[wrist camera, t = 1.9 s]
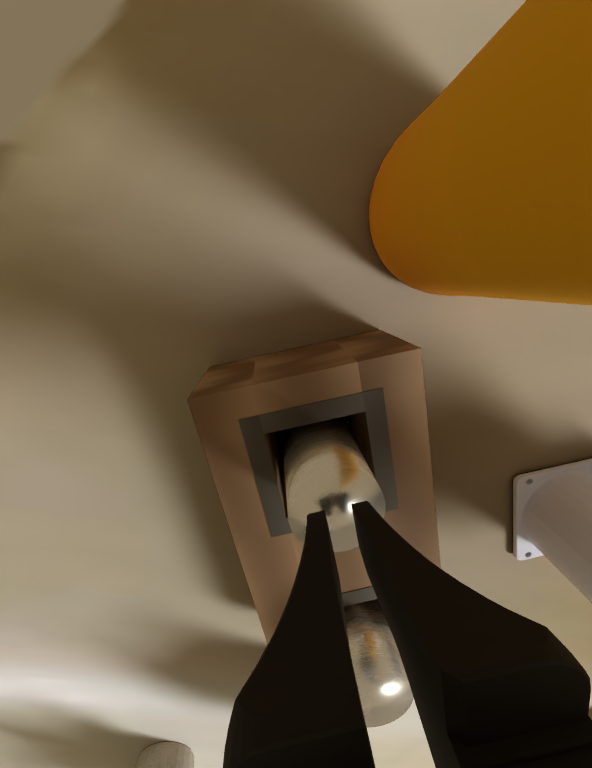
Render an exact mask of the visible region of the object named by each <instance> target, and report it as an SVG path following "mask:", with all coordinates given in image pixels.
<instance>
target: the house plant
mask: <svg viewBox="0 0 592 768" xmlns="http://www.w3.org/2000/svg"><path fill="white" fill-rule="evenodd" d="M135 768H194V756H193V753H192V751H191V749H190V748H188V747H187V746H186V745H183V744H180V743H176V742H161V743H156V744H153V745H151V746H149V747H147V748H146V749H145V750H144V751H143V752H142V753H141V755H140V757H139V759H138V762H137V764H136V767H135Z"/></svg>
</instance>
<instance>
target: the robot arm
mask: <svg viewBox="0 0 592 768" xmlns="http://www.w3.org/2000/svg"><path fill="white" fill-rule="evenodd" d="M527 480H528V481H527ZM351 507H352V512H353V517H354V523H355V528H356V534H357V539H358V545H359V549H360V552H361V555H362V559H363V562H364V565H365V568H366V572H367V574H368V577H369V579H370V582H371V584H372V587H373V589H374V591H375V594H376V596H377V599H378V601H379V603H380V606H381V608H382V611H383V613H384V615H385V618H386V620H387V623H388V625H389V627H390V630H391V632H392V635H393V637H394V640H395V643H396V645H397V648H398V651H399V654H400V657H401V660H402V663H403V666H404V669H405V672H406V675H407V678H408V681H409V684H410V688H411V691H412V694H413V697H414V700H415V703H416V706H417V709H418V713H419V716H420V719H421V722H422V725H423V728H424V731H425V735H426V738H427V741H428V744H429V747H430V751H431V754H432V757H433V760H434V763H435V767H436V768H592V720H591V719H590V717H589V716H588V711H589V702H590V693H591V686H590V678H589V676H588V674H587V673H586V671H585V669H584V668H583V667H582V666H581V664H580V663H579V662H578V661H577V660H576V658H575V657H574V656H573V655H572V653H571V652H570V651H569V650H568V649H567V648H566V647H565V646H564V645H563V644H562V643H561V642H560V641H559V640H558V639H557V638H556V637H555V636H554V635H553V633H552V632H551V631H550V630H549V629H548V628H547V627H545V626H543V625H541V624H539V623H536V622H534V621H532V620H530V619H528V618H526V617H523V616H521V615H519V614H517V613H515V612H513V611H510V610H508V609H506V608H504V607H502V606H501V605H499V604H497V603H495V602H493V601H491V600H489V599H487V598H486V597H484V596H482V595H481V594H479V593H477V592H476V591H474V590H473V589H471V588H469V587H468V586H466V585H464V584H463V583H461V582H459V581H458V580H456V579H455V578H453V577H452V576H450V575H449V574H447V573H446V572H445V571H443V570H442V569H440V568H439V567H438V566H436V565H435V564H434V563H432V562H431V561H430V560H428V559H427V558H426V557H425V556H423V555H422V554H421V553H420V552H419V551H417V550H416V549H415V548H414V547H413V546H411V545H410V544H409V543H408V542H407V541H406V540H405V539H404V538H403V537H402V536H401V535H399V534H398V533H397V532H396V531H395V530H394V529H393V528H392V527H391V526H390V525H389V524H388V523H387V522H386V521H385V520H384V519H383V517H382V516H381V515H380V514H379V513H378V512H377V511H376V510H375V508H374V507H373V506H372V505H371V503H370V502H368V501H363V502H358V503H354V504H351ZM513 554H514V556H515V558H516V559H517V560H526V559H530V558H534V557H539V556H543V555H544V556H545V557H546V558H547V559H548V560H549V561H550V562H551V563H552V564H553V565H554V566H555V567H556V568H557V569H558V570H559V571H560V572H561V573H562V574H563V575H564V576H565V577H566V578H567V579H568V580H569V581H570V582H571V583H572V584H573V585H574V586H575V587H576V588H577V589H578V590H579V591H580V592H581V593H582V594H583V595H584V596H585V597H586V598H587V599H588V600H589V601H590V602H591V603H592V459H587V460H583V461H579V462H574V463H570V464H565V465H561V466H557V467H552V468H548V469H543V470H539V471H534V472H530V473H526V474H521V475H518V476H516V477H515V478H514V480H513ZM223 768H375V764H374V759H373V755H372V750H371V746H370V741H369V737H368V732H367V727H366V723H365V718H364V714H363V709H362V705H361V700H360V695H359V691H358V686H357V682H356V677H355V673H354V668H353V663H352V658H351V653H350V647H349V640H348V633H347V626H346V619H345V612H344V605H343V598H342V591H341V584H340V578H339V573H338V569H337V564H336V559H335V555H334V550H333V545H332V541H331V536H330V531H329V527H328V522H327V518H326V514H325V510H323V511H318V512H314V513H309V514H308V515H307V525H306V534H305V541H304V546H303V551H302V555H301V560H300V564H299V567H298V571H297V574H296V578H295V581H294V584H293V587H292V590H291V593H290V596H289V598H288V601H287V604H286V606H285V609H284V611H283V613H282V616H281V618H280V620H279V623H278V625H277V627H276V629H275V631H274V633H273V636H272V638H271V639H270V641H269V643H268V645H267V647H266V649H265V651H264V653H263V655H262V656H261V658H260V660H259V662H258V664H257V665H256V667H255V669H254V671H253V672H252V674H251V675H250V677H249V679H248V680H247V682H246V683H245V685H244V687H243V688H242V690H241V691H240V693H239V695H238V696H237V698H236V700H235V703H234V707H233V711H232V715H231V719H230V723H229V728H228V733H227V739H226V744H225V752H224V762H223Z"/></svg>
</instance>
